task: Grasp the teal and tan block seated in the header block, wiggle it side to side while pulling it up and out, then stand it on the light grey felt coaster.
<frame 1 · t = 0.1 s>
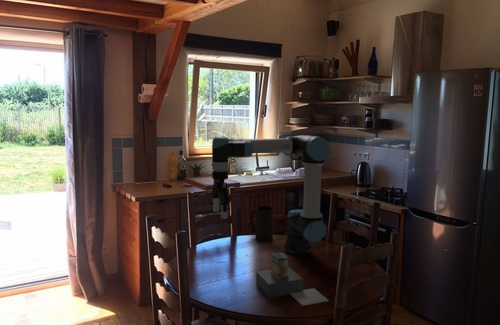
hand: (219, 214, 194), 28 cm above the table, fingers open, 13 cm apart
beer stein: (260, 239, 246), on the table
header block: (279, 288, 180), on the table
teal and tan block: (279, 272, 179), in the header block
coaster: (308, 297, 171), on the table
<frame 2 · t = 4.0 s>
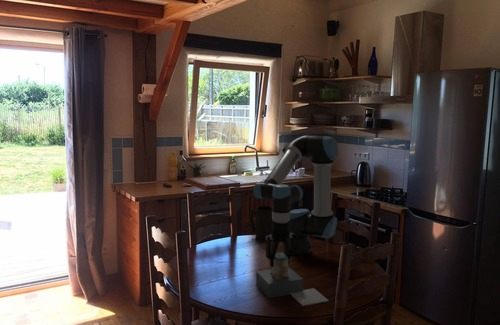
hand: (279, 272, 179), 7 cm above the table, fingers closed on teal and tan block, 5 cm apart
teal and tan block: (279, 271, 179), in the header block, touching gripper
everything else where it was.
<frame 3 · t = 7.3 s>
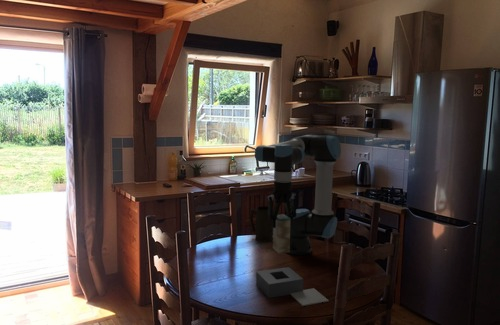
hand: (281, 234, 176), 25 cm above the table, fingers closed on teal and tan block, 5 cm apart
teal and tan block: (281, 233, 176), point 25 cm above the table, touching gripper
everything else where it was.
when the fingers open (9 cm above the table, at t = 10.8 s): teal and tan block stays where it is, resting on coaster.
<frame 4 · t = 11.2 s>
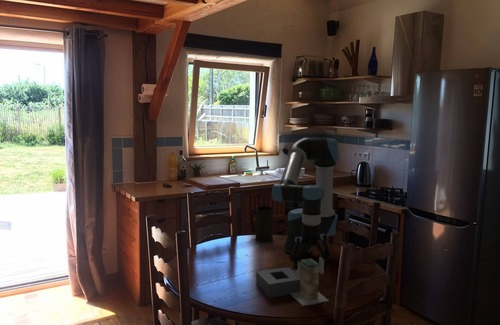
hand: (309, 274, 170), 10 cm above the table, fingers open, 10 cm apart
teal and tan block: (309, 279, 170), on the coaster
everything else where it was.
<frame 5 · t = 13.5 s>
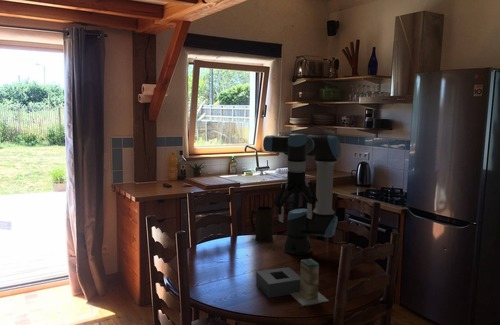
hand: (295, 220, 174), 31 cm above the table, fingers open, 13 cm apart
nothing on the table moved.
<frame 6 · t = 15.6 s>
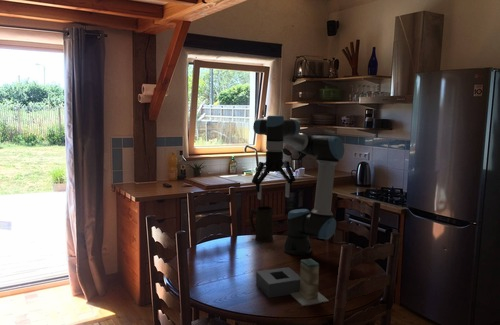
hand: (273, 198, 182), 39 cm above the table, fingers open, 13 cm apart
nothing on the table moved.
at the end: teal and tan block inside the target area on the coaster (0.0 cm from its centre), point 8.0 cm above the coaster's base; teal and tan block tilted 0°; the gripper is holding nothing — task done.
